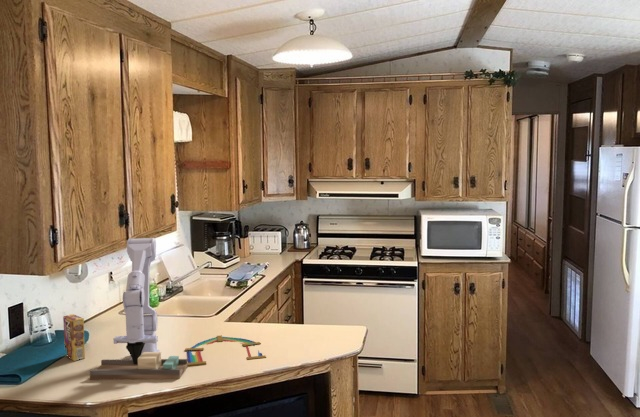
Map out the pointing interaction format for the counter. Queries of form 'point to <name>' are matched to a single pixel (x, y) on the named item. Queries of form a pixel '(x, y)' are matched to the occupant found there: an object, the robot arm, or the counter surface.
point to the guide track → (128, 370)
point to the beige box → (149, 360)
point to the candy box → (74, 336)
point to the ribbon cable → (197, 359)
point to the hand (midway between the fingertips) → (136, 363)
